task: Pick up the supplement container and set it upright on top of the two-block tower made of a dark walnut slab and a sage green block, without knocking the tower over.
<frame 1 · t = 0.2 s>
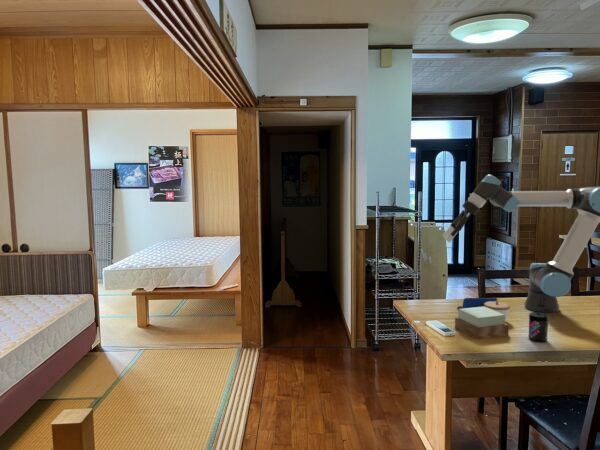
hand: (445, 239, 210), 36 cm above the table, tool tilted 35°, fingers open, 13 cm apart
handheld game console: (476, 313, 210), on the table
supplement container: (537, 340, 172), on the table
walnut base block: (480, 332, 183), on the table, touching sage top block
sage top block: (481, 321, 182), point 4 cm above the table, touching walnut base block
lidded jar: (496, 321, 197), on the table
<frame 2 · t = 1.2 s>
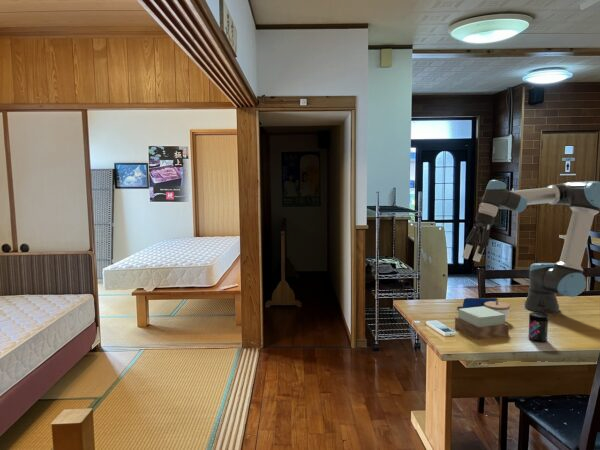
hand: (470, 259, 190), 29 cm above the table, tool tilted 20°, fingers open, 13 cm apart
nothing on the table moved.
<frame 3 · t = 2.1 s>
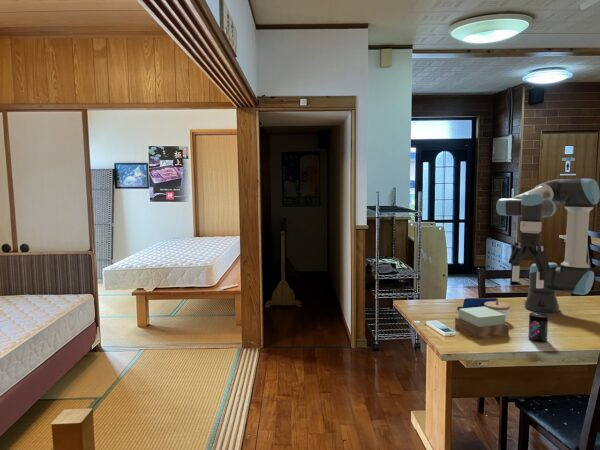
hand: (526, 284, 173), 22 cm above the table, tool pointing down, fingers open, 13 cm apart
nothing on the table moved.
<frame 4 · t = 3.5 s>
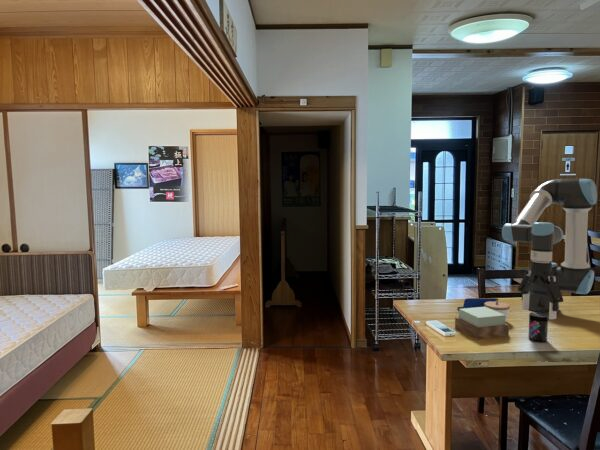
hand: (538, 314, 171), 11 cm above the table, tool pointing down, fingers open, 13 cm apart
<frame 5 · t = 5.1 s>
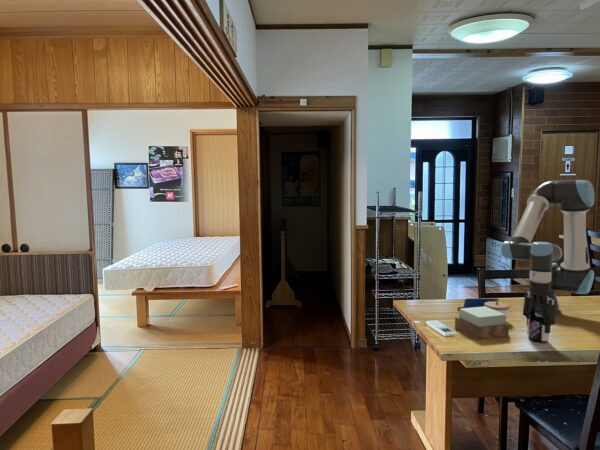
hand: (537, 337, 172), 1 cm above the table, tool pointing down, fingers closed on supplement container, 7 cm apart
supplement container: (537, 340, 172), on the table, touching gripper
walnut base block: (480, 332, 183), on the table
sage top block: (481, 320, 182), point 5 cm above the table
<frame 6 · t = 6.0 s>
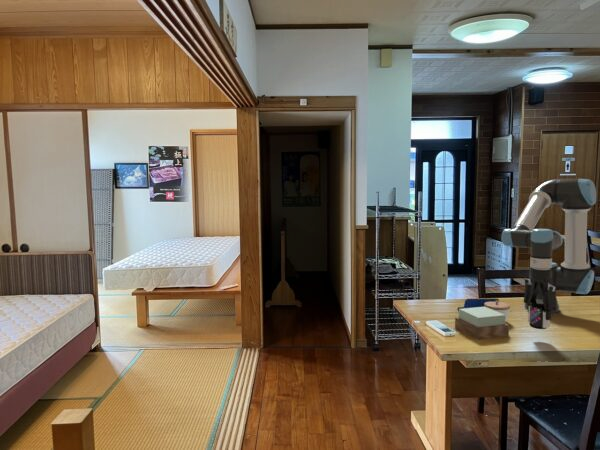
hand: (538, 324, 172), 6 cm above the table, tool pointing down, fingers closed on supplement container, 7 cm apart
supplement container: (538, 327, 172), point 5 cm above the table, touching gripper
walnut base block: (480, 332, 183), on the table, touching sage top block
sage top block: (481, 321, 182), point 4 cm above the table, touching walnut base block
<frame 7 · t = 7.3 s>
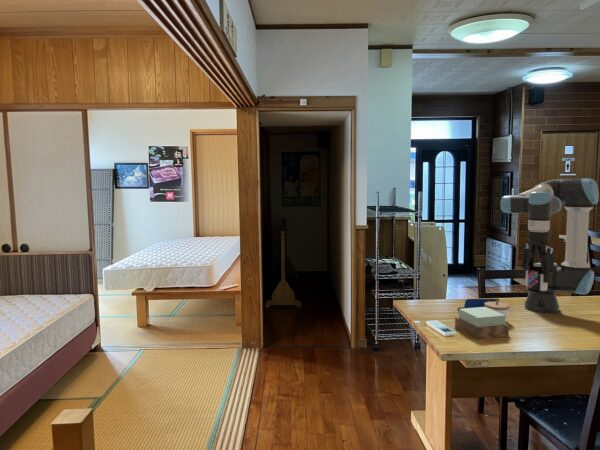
hand: (536, 288, 171), 21 cm above the table, tool pointing down, fingers closed on supplement container, 7 cm apart
supplement container: (535, 291, 171), point 20 cm above the table, touching gripper
when the fingers open (11 cm above the table, at t = 11.4 s): supplement container drops 1 cm, point 8 cm above the table.
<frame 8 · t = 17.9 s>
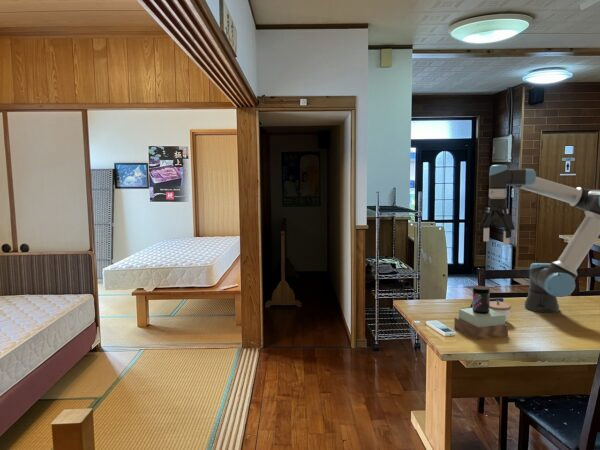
hand: (495, 243, 202), 35 cm above the table, tool pointing down, fingers open, 13 cm apart
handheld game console: (480, 314, 207), on the table, touching lidded jar
supplement container: (481, 312, 182), point 8 cm above the table
lidded jar: (497, 321, 196), on the table, touching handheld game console
everything else where it was.
at the end: supplement container inside the target area on the walnut base block (0.1 cm from its centre), point 8.9 cm above the walnut base block's base; sage top block 0.3 cm off-centre on the walnut base block, point 5.0 cm above the walnut base block's base; supplement container tilted 1° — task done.
